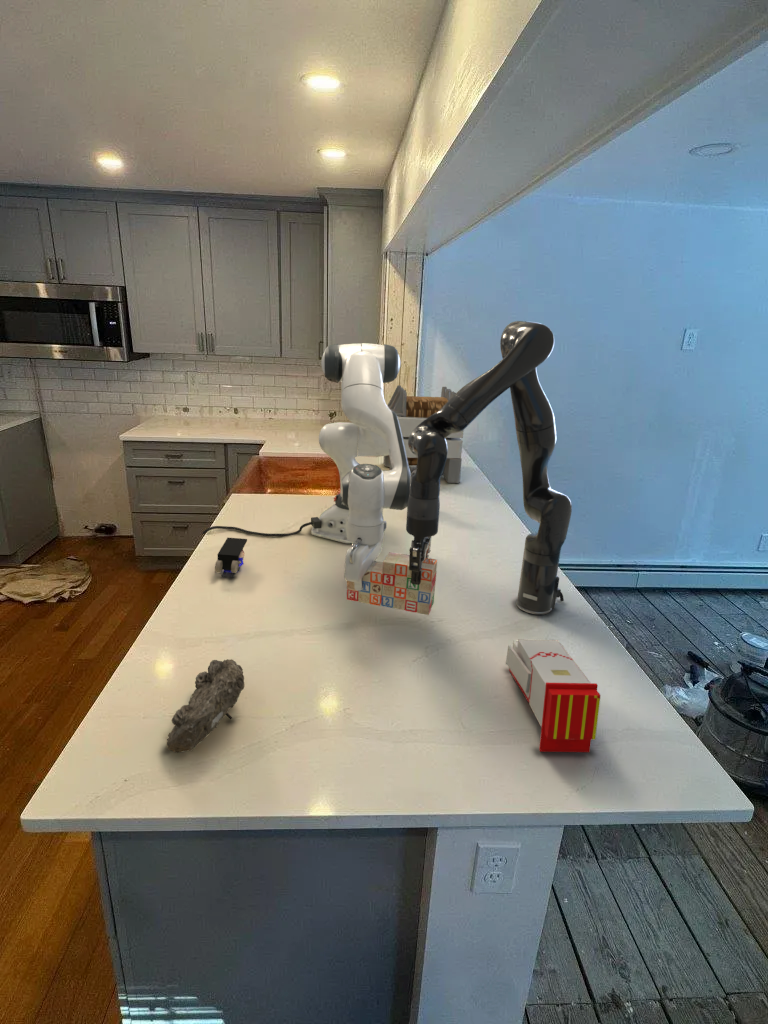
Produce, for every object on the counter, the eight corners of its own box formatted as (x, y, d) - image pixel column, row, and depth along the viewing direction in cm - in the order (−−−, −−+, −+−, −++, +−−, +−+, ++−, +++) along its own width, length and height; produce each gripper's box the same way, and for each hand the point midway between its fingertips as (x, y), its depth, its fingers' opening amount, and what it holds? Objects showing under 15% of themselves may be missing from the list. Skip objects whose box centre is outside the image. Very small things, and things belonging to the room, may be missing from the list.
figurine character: (238, 584, 162) (249, 557, 175) (236, 562, 158) (247, 536, 172) (215, 584, 161) (227, 556, 175) (212, 561, 158) (225, 535, 171)
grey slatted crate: (382, 463, 289) (386, 382, 275) (445, 464, 293) (451, 384, 279) (390, 482, 257) (394, 392, 243) (460, 483, 261) (468, 394, 247)
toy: (554, 622, 128) (610, 691, 98) (548, 677, 130) (601, 759, 101) (501, 621, 127) (541, 690, 98) (496, 676, 130) (534, 758, 101)
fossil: (192, 660, 117) (244, 628, 112) (224, 691, 120) (276, 661, 115) (142, 746, 98) (202, 712, 93) (182, 779, 101) (242, 748, 96)
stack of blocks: (345, 600, 142) (346, 555, 138) (353, 589, 148) (354, 546, 144) (429, 615, 137) (432, 569, 133) (434, 603, 143) (437, 558, 138)
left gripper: (364, 549, 128) (362, 603, 133) (388, 519, 146) (386, 568, 151) (338, 545, 129) (337, 599, 134) (365, 516, 148) (363, 564, 153)
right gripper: (432, 525, 125) (427, 593, 131) (444, 505, 138) (439, 568, 144) (399, 521, 127) (396, 588, 132) (414, 502, 140) (410, 563, 145)
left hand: (363, 582), depth 143 cm, fingers closed on stack of blocks, 6 cm apart
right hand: (418, 577), depth 138 cm, fingers closed on stack of blocks, 6 cm apart
